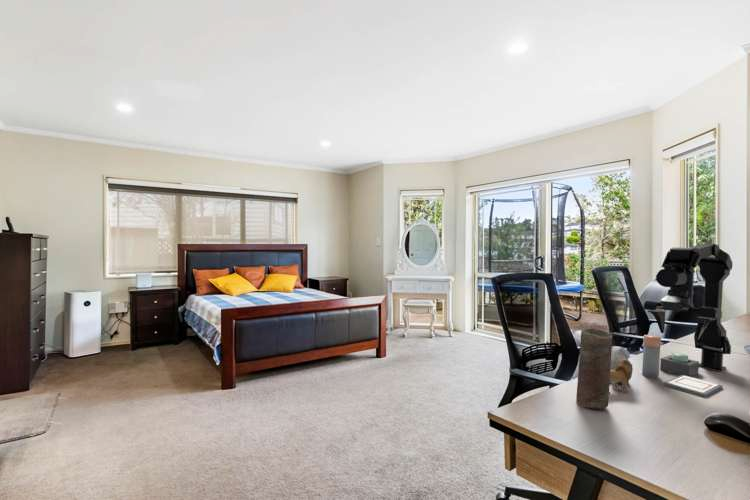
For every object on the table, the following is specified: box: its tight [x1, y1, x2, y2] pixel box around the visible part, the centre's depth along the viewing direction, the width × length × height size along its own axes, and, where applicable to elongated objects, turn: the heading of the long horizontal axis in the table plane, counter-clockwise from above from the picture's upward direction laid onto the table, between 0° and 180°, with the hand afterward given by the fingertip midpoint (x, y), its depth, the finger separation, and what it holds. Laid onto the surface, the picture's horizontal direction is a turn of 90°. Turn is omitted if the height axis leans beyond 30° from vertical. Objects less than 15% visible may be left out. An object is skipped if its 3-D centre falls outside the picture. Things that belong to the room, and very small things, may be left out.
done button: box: [671, 352, 689, 363], centre depth 129 cm, size 4×4×3 cm
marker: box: [641, 334, 662, 379], centre depth 124 cm, size 5×5×13 cm
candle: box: [575, 328, 613, 410], centre depth 100 cm, size 8×7×20 cm
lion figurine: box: [609, 359, 634, 395], centre depth 110 cm, size 15×5×9 cm, turn 110°
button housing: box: [659, 354, 700, 377], centre depth 129 cm, size 8×8×4 cm
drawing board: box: [663, 375, 724, 398], centre depth 115 cm, size 14×10×1 cm
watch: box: [610, 345, 631, 386], centre depth 118 cm, size 6×8×11 cm
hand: (679, 336), depth 119 cm, fingers open, 9 cm apart
